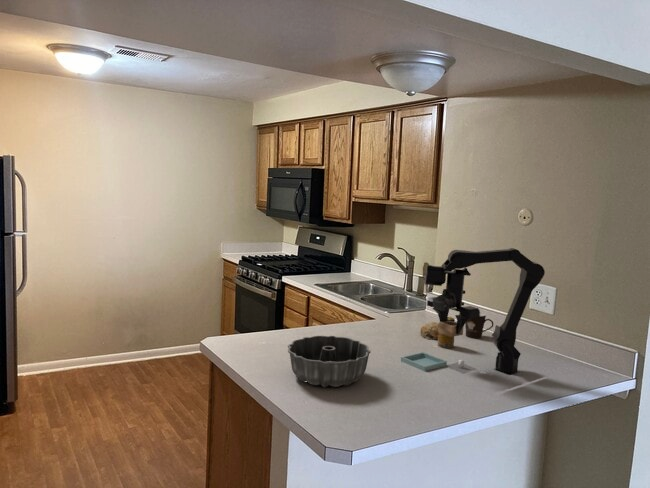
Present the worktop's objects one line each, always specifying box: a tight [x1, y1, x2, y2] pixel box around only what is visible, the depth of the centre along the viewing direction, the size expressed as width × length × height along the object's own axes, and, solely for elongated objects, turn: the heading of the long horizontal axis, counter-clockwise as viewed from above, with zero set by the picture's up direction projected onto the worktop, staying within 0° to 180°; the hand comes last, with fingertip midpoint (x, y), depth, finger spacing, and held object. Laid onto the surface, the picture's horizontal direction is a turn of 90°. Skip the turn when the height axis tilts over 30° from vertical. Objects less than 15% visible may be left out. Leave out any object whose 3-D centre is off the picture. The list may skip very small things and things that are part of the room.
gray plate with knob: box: [444, 359, 478, 374], centre depth 180 cm, size 8×8×3 cm
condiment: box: [432, 316, 455, 350], centre depth 202 cm, size 7×8×12 cm
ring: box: [438, 321, 465, 338], centre depth 179 cm, size 6×6×4 cm
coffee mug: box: [464, 311, 494, 340], centre depth 219 cm, size 12×9×10 cm
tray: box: [400, 351, 448, 372], centre depth 183 cm, size 11×11×2 cm
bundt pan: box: [287, 335, 371, 388], centre depth 166 cm, size 26×26×10 cm
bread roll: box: [419, 321, 439, 341], centre depth 218 cm, size 10×10×8 cm
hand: (450, 331), depth 179 cm, fingers closed on ring, 6 cm apart
